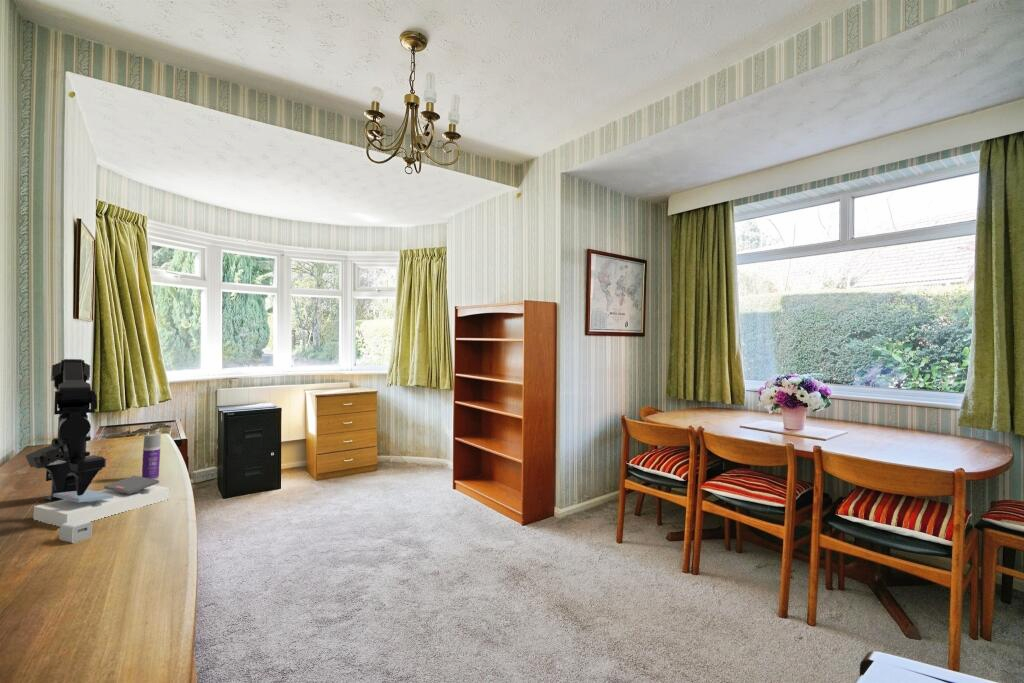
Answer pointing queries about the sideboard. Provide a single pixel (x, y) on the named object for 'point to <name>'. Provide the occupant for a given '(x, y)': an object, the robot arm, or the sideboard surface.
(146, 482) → the rocker charcoal
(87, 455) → the robot arm
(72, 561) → the sideboard surface
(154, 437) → the container
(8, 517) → the sideboard surface
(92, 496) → the plate
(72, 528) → the usb wall charger
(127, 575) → the sideboard surface
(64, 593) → the sideboard surface
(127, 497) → the white long base
